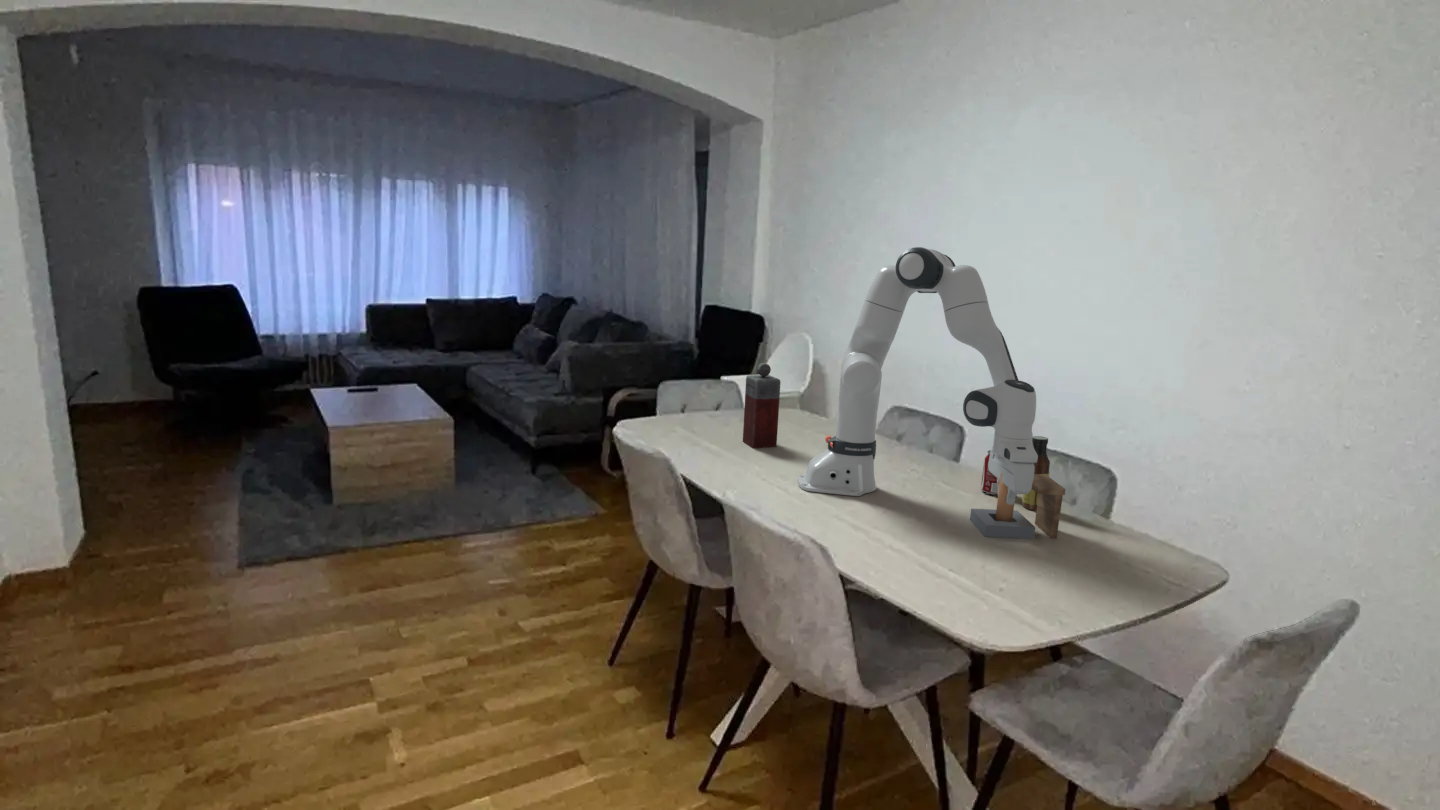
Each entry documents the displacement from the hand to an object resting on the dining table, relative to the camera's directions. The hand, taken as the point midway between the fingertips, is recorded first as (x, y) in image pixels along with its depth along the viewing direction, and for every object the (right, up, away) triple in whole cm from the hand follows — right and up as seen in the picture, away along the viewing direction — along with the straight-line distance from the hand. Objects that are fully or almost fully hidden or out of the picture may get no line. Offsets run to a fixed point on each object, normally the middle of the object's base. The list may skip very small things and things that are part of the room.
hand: (1005, 500), depth 197 cm
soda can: (+7, -2, +31) cm, 32 cm away
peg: (0, -5, +1) cm, 5 cm away
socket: (-1, -7, +1) cm, 8 cm away
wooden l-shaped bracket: (+8, -8, +1) cm, 11 cm away
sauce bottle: (+14, -5, +19) cm, 24 cm away
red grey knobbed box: (-58, +10, +74) cm, 94 cm away
